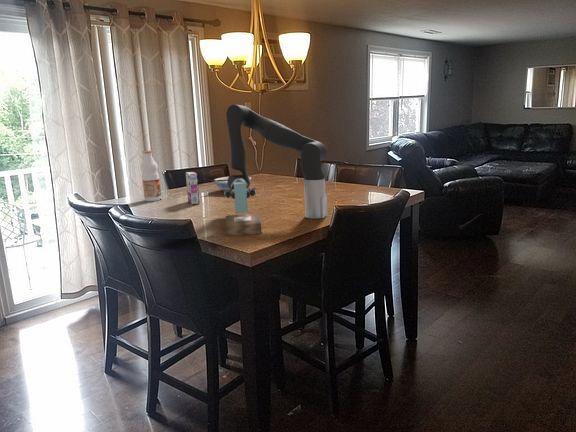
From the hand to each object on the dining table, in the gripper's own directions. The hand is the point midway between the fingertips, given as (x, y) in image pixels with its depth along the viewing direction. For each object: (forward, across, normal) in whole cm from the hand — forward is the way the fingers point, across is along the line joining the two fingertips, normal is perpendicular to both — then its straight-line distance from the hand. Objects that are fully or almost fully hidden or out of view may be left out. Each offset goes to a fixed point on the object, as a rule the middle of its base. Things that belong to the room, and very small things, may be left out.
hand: (240, 196), depth 180 cm
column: (-3, 0, +7) cm, 7 cm away
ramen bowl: (-92, -3, +15) cm, 93 cm away
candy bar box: (-64, -24, +15) cm, 70 cm away
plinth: (-2, 0, +14) cm, 15 cm away
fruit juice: (-80, -48, +16) cm, 95 cm away
